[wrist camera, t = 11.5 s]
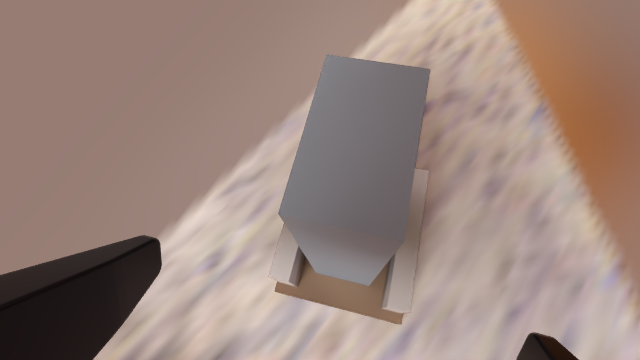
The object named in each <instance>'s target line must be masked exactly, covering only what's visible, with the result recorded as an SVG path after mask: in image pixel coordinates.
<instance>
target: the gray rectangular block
mask: <svg viewBox="0 0 640 360" xmlns="http://www.w3.org/2000/svg"><path fill="white" fill-rule="evenodd" d="M429 74H430V69H426V68H418V67H411V66H404V65H397V64H390V63H383V62H376V61H369V60H362V59H355V58H348V57H340V56H333V55H326V58H325V61H324V65H323V68H322V71H321V75H320V78H319V81H318V84H317V88H316V91H315V94H314V98H313V101H312V104H311V107H310V111H309V114H308V117H307V121H306V124H305V127H304V131H303V134H302V137H301V140H300V144H299V147H298V150H297V154H296V157H295V160H294V164H293V167H292V170H291V173H290V177H289V180H288V183H287V187H286V190H285V193H284V197H283V200H282V203H281V206H280V210H279V213H278V214H279V215H280V217H281V219H282V220H283V222H284V223H285V225H286V226H287V228H288V230H289V231H290V233H291V234H292V236H293V237H294V239H295V241H296V242H297V244H298V245H299V247H300V248H301V250H302V252H303V253H304V255H305V256H306V258H307V259H308V261H309V263H310V264H311V266H312V267H313V269H314V270H315V272H316V273H318V274H322V275H326V276H330V277H334V278H338V279H342V280H347V281H351V282H355V283H359V284H363V285H367V286H369V285H370V284H371V283H372V282H373V280H374V279H375V278H376V277H377V275H378V274H379V273H380V271H381V270H382V269H383V268H384V266H385V265H386V264H387V263H388V261H389V260H390V259H391V257H392V256H393V255H394V254H395V252H396V251H397V250H398V249H399V247H400V246H401V245H402V243H403V242H404V238H405V232H406V225H407V219H408V212H409V205H410V199H411V192H412V186H413V179H414V172H415V166H416V159H417V153H418V146H419V140H420V133H421V126H422V120H423V113H424V107H425V100H426V94H427V87H428V80H429Z"/></svg>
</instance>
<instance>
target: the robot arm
mask: <svg viewBox="0 0 640 360" xmlns="http://www.w3.org/2000/svg"><path fill="white" fill-rule="evenodd" d="M161 266H162V261H161V248H160V242H159V240H158V239H157V238H153V237H150V236H145V235H142V236H138V237H134V238H131V239H127V240H124V241H120V242H116V243H113V244H109V245H106V246H102V247H99V248H95V249H92V250H88V251H84V252H81V253H77V254H74V255H70V256H67V257H63V258H60V259H56V260H53V261H49V262H46V263H42V264H38V265H35V266H31V267H28V268H24V269H21V270H17V271H13V272H10V273H7V274H3V275H0V360H93V359H94V358H95V356H96V355H97V354H98V353H99V352H100V351H101V349H102V348H103V347H104V346H105V345H106V344H107V342H108V341H109V340H110V339H111V338H112V337H113V335H114V334H115V333H116V332H117V331H118V329H119V328H120V327H121V326H122V324H123V323H124V322H125V320H126V319H127V318H128V317H129V315H130V314H131V312H132V311H133V309H134V308H135V307H136V305H137V304H138V302H139V301H140V300H141V298H142V297H143V295H144V294H145V293H146V291H147V290H148V288H149V287H150V286H151V284H152V283H153V281H154V280H155V279H156V277H157V276H158V274H159V272H160V270H161ZM517 360H578V359H577V358H576V357H575V356H574V355H573V354H572V353H571V352H569V351H568V350H567V349H566V348H565V347H564V346H563V345H562V344H560V343H559V342H558V341H557V340H556V339H555V338H553V337H551V336H547V335H543V334H539V333H530V334H529V335H528V337H527V338H526V340H525V342H524V345H523V347H522V349H521V351H520V353H519V355H518V357H517Z"/></svg>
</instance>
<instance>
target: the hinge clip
mask: <svg viewBox="0 0 640 360" xmlns="http://www.w3.org/2000/svg"><path fill="white" fill-rule="evenodd" d="M428 176H429V170H423V169H418V168H415V172H414V179H413V186H412V192H411V199H410V205H409V212H408V219H407V225H406V232H405V238H404V242H403V243H402V245H401V246H400V247H399V249H398V250H397V251H396V252H395V254H394V255H393V256H392V257H391V259H390V260H389V261H388V263H387V264H386V265H385V266H384V268H383V269H382V270H381V271H380V273H379V274H378V275H377V277H376V278H375V279H374V280H373V282H372V283H371V284H370V285H369V286H367V285H363V284H359V283H355V282H351V281H347V280H342V279H338V278H334V277H330V276H326V275H322V274H318V273H316V272H315V270H314V269H313V267H312V266H311V264H310V263H309V261H308V259H307V258H306V256H305V255H304V253H303V252H302V250H301V248H300V247H299V245H298V244H297V242H296V241H295V239H294V237H293V236H292V234H291V233H290V231H289V230H288V228H287V226H286V225H285V223H284V225H283V228H282V232H281V235H280V238H279V242H278V245H277V249H276V252H275V255H274V259H273V262H272V266H271V269H270V272H269V277H270V278H272V279H274V280H276V281H277V284H276V288H275V292H278V293H282V294H286V295H289V296H293V297H297V298H301V299H305V300H309V301H312V302H316V303H320V304H324V305H328V306H331V307H335V308H339V309H343V310H347V311H351V312H354V313H358V314H362V315H366V316H370V317H373V318H377V319H381V320H385V321H389V322H393V323H396V324H401V323H402V316H403V313H410V309H411V302H412V295H413V287H414V280H415V272H416V265H417V258H418V250H419V243H420V235H421V228H422V221H423V213H424V206H425V198H426V191H427V183H428Z"/></svg>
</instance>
